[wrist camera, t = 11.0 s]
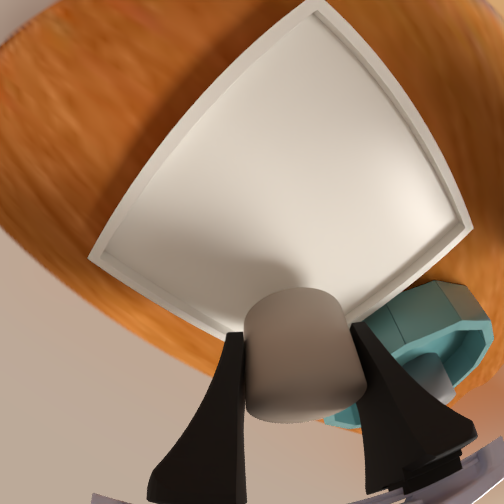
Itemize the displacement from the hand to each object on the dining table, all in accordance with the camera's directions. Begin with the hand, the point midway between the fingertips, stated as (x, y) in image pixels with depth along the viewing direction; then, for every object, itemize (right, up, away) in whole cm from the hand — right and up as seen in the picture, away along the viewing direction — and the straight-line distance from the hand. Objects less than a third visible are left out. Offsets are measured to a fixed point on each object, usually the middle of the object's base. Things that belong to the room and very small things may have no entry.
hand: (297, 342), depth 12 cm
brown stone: (0, +1, +1) cm, 1 cm away
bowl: (+10, -4, +7) cm, 12 cm away
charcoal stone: (+12, -6, +7) cm, 15 cm away
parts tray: (0, +5, 0) cm, 5 cm away
